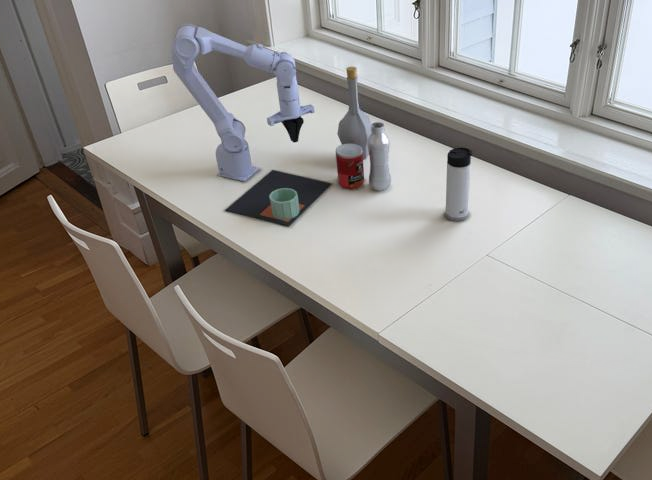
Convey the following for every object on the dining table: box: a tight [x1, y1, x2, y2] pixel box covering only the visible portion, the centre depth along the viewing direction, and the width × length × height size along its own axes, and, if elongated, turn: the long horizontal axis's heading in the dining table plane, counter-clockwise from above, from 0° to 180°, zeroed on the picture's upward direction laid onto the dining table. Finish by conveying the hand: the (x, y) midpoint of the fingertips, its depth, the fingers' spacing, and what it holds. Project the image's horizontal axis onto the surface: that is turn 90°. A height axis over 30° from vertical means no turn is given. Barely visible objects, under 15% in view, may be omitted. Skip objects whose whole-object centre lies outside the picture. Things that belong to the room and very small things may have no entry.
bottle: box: [336, 66, 372, 161], centre depth 198 cm, size 11×11×30 cm
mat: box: [225, 169, 332, 228], centre depth 190 cm, size 20×24×1 cm
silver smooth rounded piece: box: [367, 121, 392, 192], centre depth 189 cm, size 6×7×20 cm
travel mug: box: [445, 147, 474, 222], centre depth 179 cm, size 6×7×20 cm
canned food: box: [335, 144, 365, 190], centre depth 194 cm, size 8×8×11 cm
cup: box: [269, 188, 300, 220], centre depth 181 cm, size 7×7×6 cm
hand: (294, 140), depth 197 cm, fingers closed
